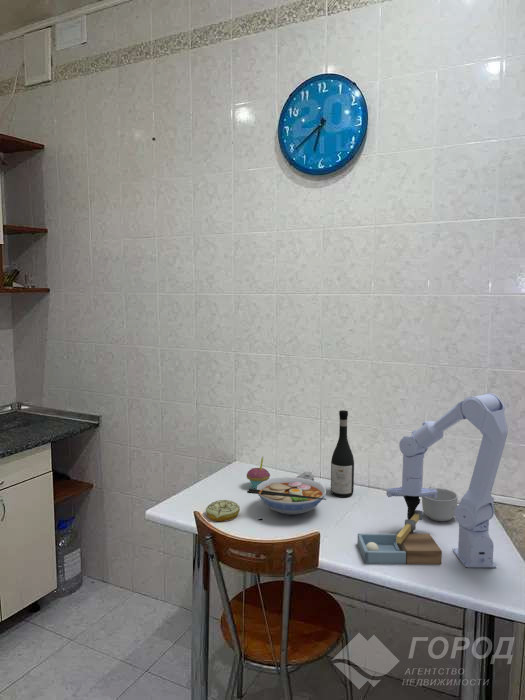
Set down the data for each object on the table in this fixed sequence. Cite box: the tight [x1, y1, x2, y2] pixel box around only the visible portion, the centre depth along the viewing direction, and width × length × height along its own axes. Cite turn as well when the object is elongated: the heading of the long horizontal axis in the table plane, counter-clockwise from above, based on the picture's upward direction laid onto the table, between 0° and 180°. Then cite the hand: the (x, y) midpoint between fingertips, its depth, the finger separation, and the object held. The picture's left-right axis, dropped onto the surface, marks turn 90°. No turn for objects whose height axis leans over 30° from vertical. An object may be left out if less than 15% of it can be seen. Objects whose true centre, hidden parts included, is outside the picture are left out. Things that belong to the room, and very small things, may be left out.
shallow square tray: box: [357, 533, 407, 565], centre depth 137 cm, size 11×11×3 cm
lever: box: [396, 509, 423, 544], centre depth 142 cm, size 20×3×2 cm, turn 148°
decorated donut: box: [205, 499, 241, 522], centre depth 161 cm, size 10×11×4 cm
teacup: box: [421, 485, 459, 522], centre depth 162 cm, size 14×11×8 cm
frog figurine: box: [296, 471, 315, 481], centre depth 183 cm, size 6×7×7 cm
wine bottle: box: [330, 410, 355, 498], centre depth 179 cm, size 8×8×30 cm
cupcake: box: [246, 456, 271, 489], centre depth 185 cm, size 9×8×12 cm
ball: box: [366, 542, 379, 551], centre depth 135 cm, size 4×4×4 cm
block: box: [396, 530, 443, 565], centre depth 138 cm, size 12×9×4 cm
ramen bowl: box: [246, 476, 327, 516], centre depth 165 cm, size 25×23×8 cm
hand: (410, 519), depth 150 cm, fingers closed, pressing on lever
